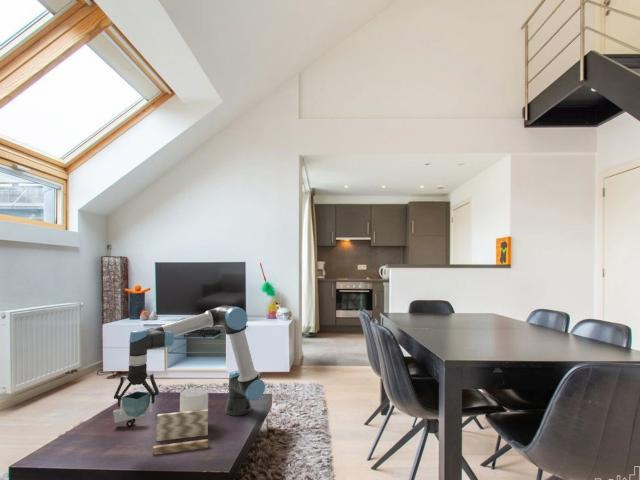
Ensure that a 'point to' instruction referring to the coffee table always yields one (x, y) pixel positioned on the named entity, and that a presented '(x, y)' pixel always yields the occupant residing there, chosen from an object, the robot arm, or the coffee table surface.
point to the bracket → (124, 417)
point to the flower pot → (136, 403)
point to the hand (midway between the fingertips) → (136, 412)
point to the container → (193, 399)
